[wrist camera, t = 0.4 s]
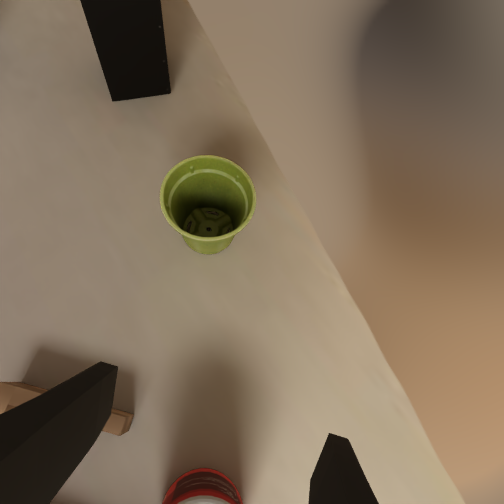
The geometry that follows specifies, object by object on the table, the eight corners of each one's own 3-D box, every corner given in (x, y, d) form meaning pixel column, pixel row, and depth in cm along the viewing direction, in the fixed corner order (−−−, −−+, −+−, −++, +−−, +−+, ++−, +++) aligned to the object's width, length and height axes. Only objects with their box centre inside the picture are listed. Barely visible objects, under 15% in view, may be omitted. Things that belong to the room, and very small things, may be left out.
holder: (77, 574, 32) (61, 599, 28) (-54, 538, 31) (-88, 559, 28) (134, 414, 36) (126, 417, 33) (20, 382, 36) (-1, 381, 32)
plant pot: (159, 261, 42) (149, 231, 34) (176, 189, 45) (170, 146, 37) (241, 274, 43) (249, 248, 35) (251, 202, 46) (261, 163, 38)
